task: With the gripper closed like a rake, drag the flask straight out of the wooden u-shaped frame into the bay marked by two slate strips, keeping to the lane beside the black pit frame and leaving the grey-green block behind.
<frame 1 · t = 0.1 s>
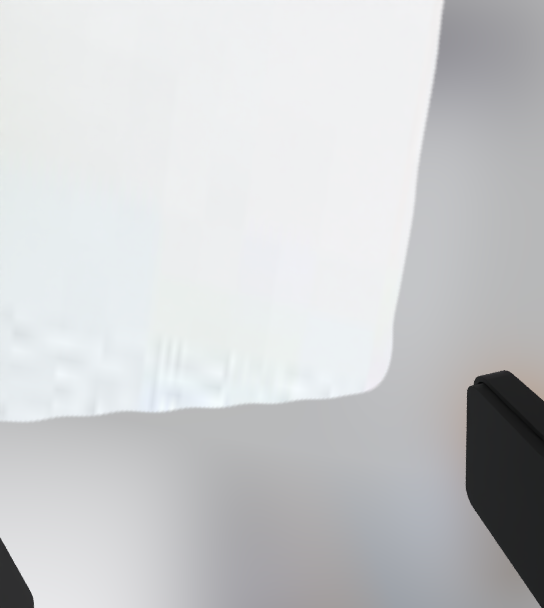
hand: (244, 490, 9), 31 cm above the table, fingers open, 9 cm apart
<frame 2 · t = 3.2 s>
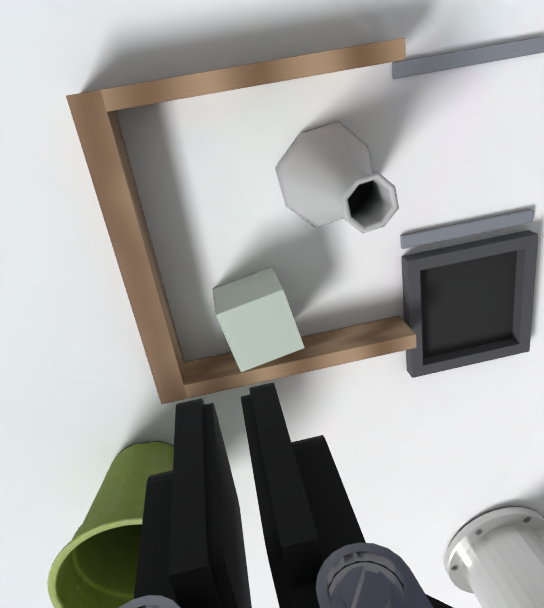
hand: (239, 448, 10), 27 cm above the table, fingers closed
wooden u-shaped frame: (265, 228, 37), on the table
plant pot: (150, 468, 44), on the table
grey green block: (253, 304, 39), on the table
flask: (324, 175, 36), on the table
pit frame: (465, 303, 42), on the table
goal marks: (466, 148, 36), on the table
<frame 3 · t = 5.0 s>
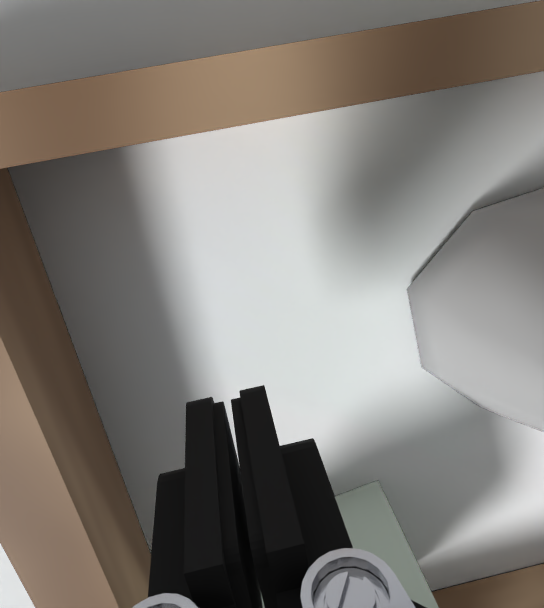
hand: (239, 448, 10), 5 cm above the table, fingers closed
wooden u-shaped frame: (371, 411, 16), on the table
grey green block: (331, 547, 19), on the table
flask: (510, 297, 16), on the table
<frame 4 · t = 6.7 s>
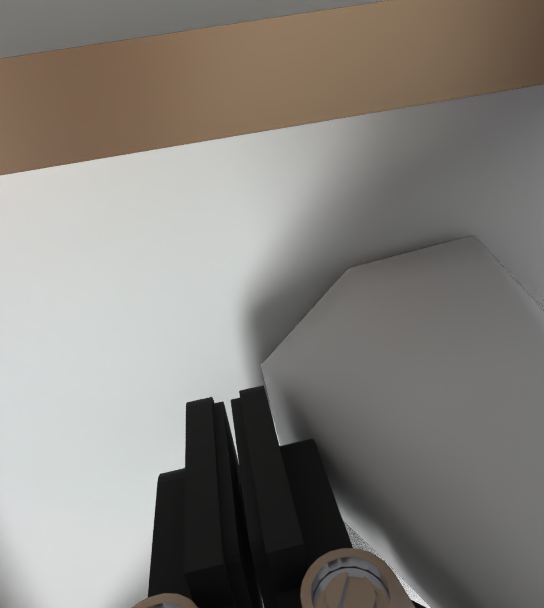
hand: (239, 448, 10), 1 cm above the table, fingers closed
wooden u-shaped frame: (198, 524, 13), on the table
flask: (403, 376, 12), on the table, touching gripper
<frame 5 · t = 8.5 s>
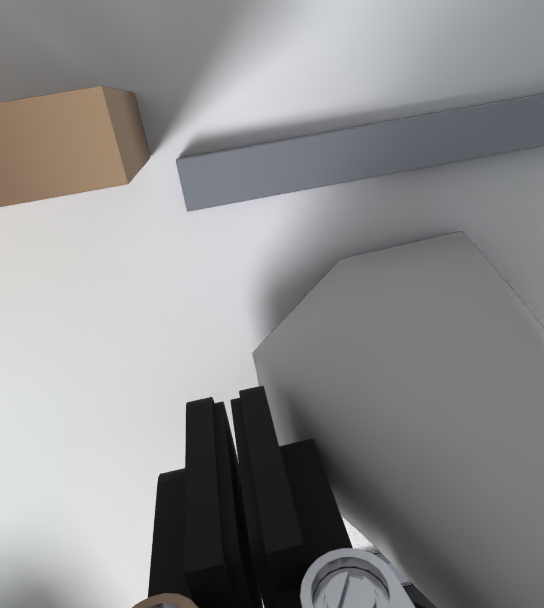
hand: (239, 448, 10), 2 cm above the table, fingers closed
flask: (391, 369, 12), on the table, touching gripper
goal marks: (442, 382, 13), on the table
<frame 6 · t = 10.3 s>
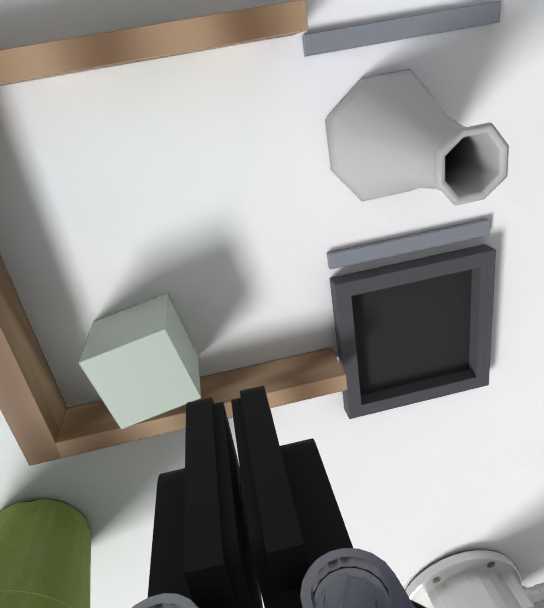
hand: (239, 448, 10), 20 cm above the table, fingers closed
wooden u-shaped frame: (153, 247, 29), on the table
plant pot: (41, 528, 37), on the table
grey green block: (147, 338, 32), on the table
flask: (381, 137, 29), on the table
pit frame: (411, 331, 35), on the table
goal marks: (405, 146, 29), on the table
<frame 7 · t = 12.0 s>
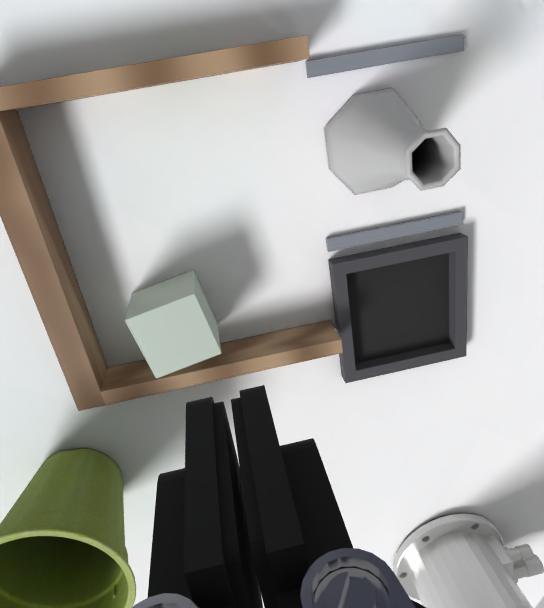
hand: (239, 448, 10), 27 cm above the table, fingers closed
wooden u-shaped frame: (183, 230, 36), on the table
plant pot: (80, 475, 43), on the table
grey green block: (176, 308, 38), on the table
flask: (370, 142, 35), on the table
pit frame: (398, 307, 41), on the table
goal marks: (389, 149, 36), on the table
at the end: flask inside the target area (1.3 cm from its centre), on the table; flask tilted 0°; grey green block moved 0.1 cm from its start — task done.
